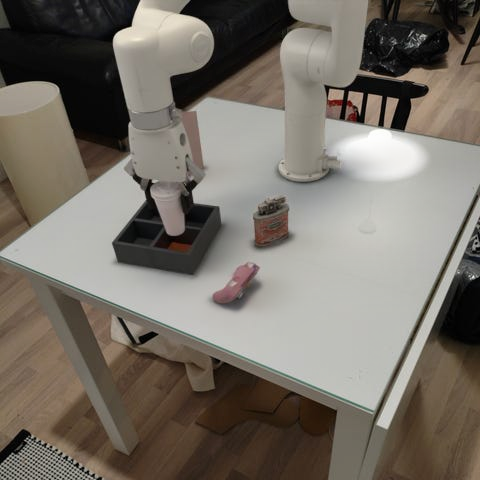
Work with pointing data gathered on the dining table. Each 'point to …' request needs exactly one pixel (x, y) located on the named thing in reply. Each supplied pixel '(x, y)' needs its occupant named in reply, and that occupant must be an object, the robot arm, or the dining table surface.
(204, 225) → the crate
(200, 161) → the greeting card
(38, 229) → the dining table surface
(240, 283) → the video game controller
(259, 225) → the lighter
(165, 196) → the smoothie
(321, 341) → the dining table surface
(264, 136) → the dining table surface
